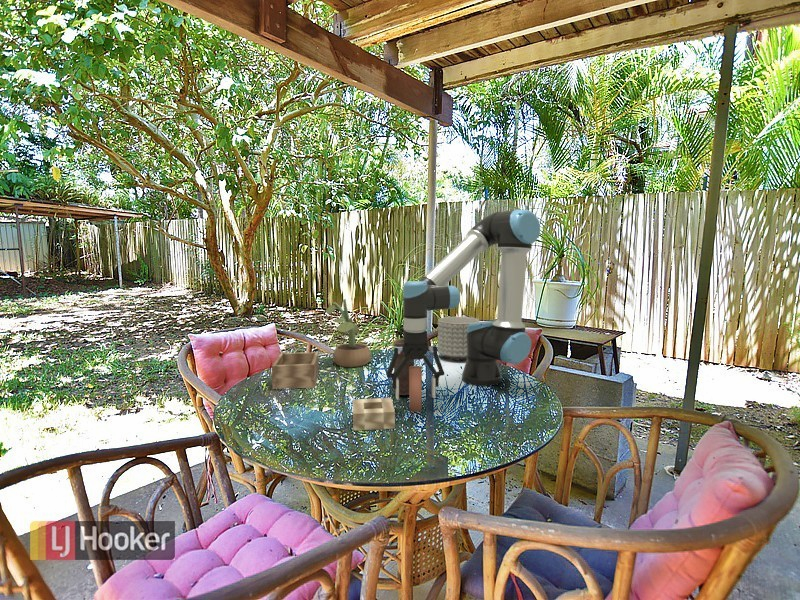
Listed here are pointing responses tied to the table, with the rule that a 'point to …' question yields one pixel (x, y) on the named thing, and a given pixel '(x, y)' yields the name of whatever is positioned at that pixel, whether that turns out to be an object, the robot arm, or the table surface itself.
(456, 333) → the planter
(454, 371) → the table surface
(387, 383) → the table surface
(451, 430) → the table surface
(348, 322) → the potted plant
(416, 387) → the peg
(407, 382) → the brown log
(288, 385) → the frame
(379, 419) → the socket block
